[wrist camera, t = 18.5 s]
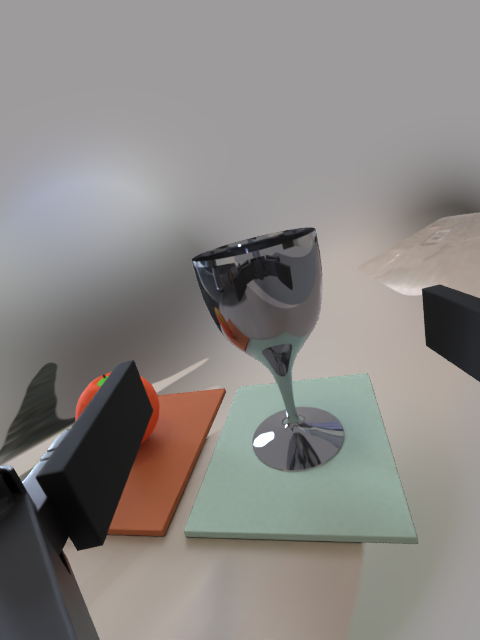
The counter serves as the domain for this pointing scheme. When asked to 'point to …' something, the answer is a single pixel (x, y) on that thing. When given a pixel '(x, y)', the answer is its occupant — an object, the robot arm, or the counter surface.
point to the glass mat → (305, 474)
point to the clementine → (96, 385)
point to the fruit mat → (165, 463)
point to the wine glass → (273, 332)
